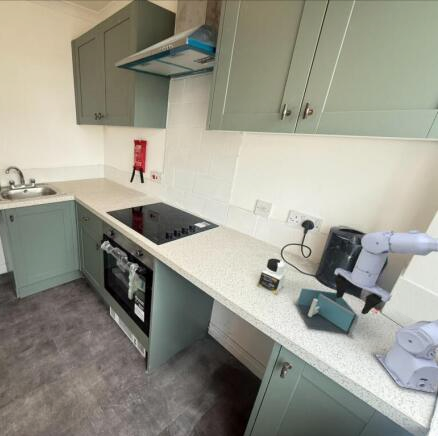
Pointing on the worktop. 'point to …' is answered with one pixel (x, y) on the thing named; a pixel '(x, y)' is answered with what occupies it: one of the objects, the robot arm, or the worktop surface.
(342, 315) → the teal shelf
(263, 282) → the medicine bottle
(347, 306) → the teal open box
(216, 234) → the worktop surface
